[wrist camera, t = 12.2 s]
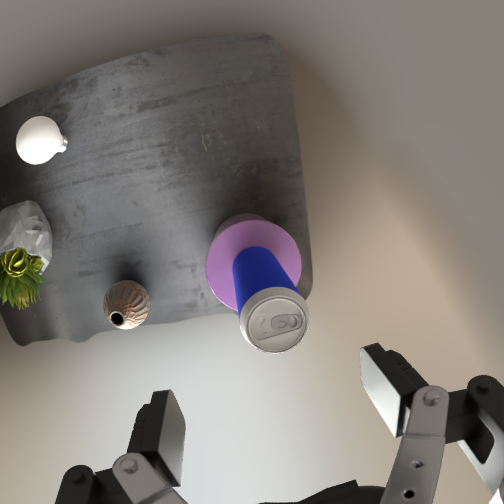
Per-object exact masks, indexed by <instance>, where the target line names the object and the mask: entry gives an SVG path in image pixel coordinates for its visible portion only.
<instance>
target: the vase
mask: <svg viewBox="0 0 504 504" xmlns="http://www.w3.org/2000/svg"><path fill="white" fill-rule="evenodd" d="M103 308H104V313H105V315H106V317H107V319H108V320H109V322H110V323H111V324H113V325H114V326H116V327H118V328H121V329H131V328H134V327H136V326H138V325H140V324H141V323H142V322H143V321H144V320H145V318H146V317H147V315H148V312H149V308H150V299H149V296H148V293H147V291H146V290H145V288H144V287H143V286H142V285H140V284H139V283H137V282H135V281H132V280H123V281H120V282H117V283H115V284H114V285H113V286H112V287H111V288H110V289H109V290H108V291H107V293H106V295H105V298H104V303H103Z"/></svg>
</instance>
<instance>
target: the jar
mask: <svg viewBox="0 0 504 504" xmlns="http://www.w3.org/2000/svg"><path fill="white" fill-rule="evenodd" d="M252 246H259V247H264V248H266V249H268V250H269V251H271V252H272V253H273V254H274V256H275V257H276V259H277V260H278V262H279V263H280V265H281V266H282V267H283V269H284V270H285V272H286V273H287V275H288V276H289V278H290V279H291V281H292V282H293V284H294V285H295V287H296V285H297V283H298V281H299V278H300V274H301V256H300V252H299V249H298V247H297V245H296V243H295V241H294V240H293V239H292V237H291V236H290V235H289V234H288V233H287V232H286V231H285V230H284V229H282V228H281V227H279V226H278V225H276V224H274V223H272V222H269V221H268V220H266V219H265V218H263V217H261V216H259V215H256V214H251V213H242V214H237V215H234V216H232V217H230V218H228V219H227V220H225V221H224V222H223V223H222V224H221V225H220V226H219V228H218V229H217V231H216V233H215V235H214V238H213V243H212V244H211V246H210V249H209V251H208V254H207V259H206V276H207V280H208V283H209V286H210V288H211V290H212V291H213V293H214V294H215V295H216V297H217V298H218V299H219V300H220V301H221V302H223V303H224V304H225V305H227V306H229V307H231V308H233V309H235V310H238V309H237V302H236V295H235V288H234V280H233V273H232V266H233V262H234V260H235V258H236V256H237V255H238V254H239V253H240V252H241V251H242V250H244V249H246V248H248V247H252Z"/></svg>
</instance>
